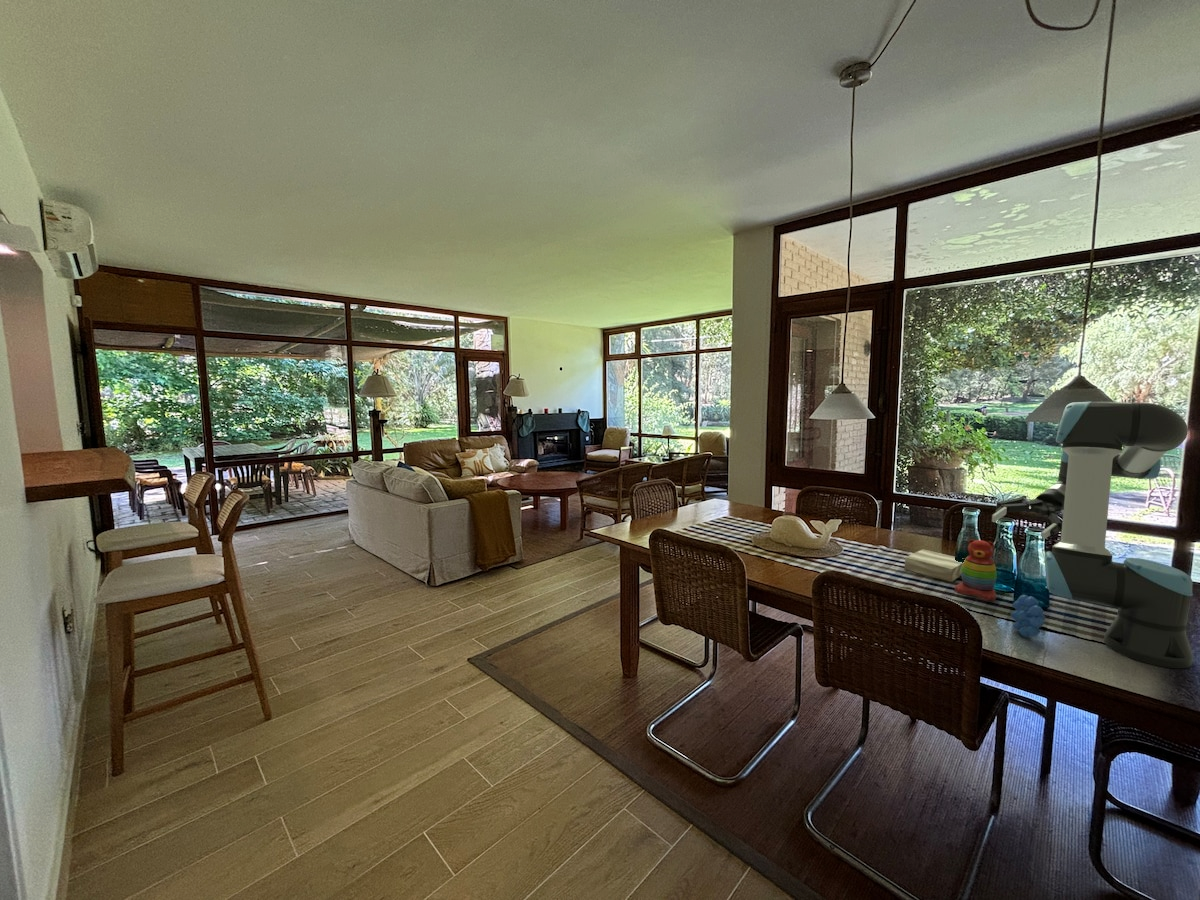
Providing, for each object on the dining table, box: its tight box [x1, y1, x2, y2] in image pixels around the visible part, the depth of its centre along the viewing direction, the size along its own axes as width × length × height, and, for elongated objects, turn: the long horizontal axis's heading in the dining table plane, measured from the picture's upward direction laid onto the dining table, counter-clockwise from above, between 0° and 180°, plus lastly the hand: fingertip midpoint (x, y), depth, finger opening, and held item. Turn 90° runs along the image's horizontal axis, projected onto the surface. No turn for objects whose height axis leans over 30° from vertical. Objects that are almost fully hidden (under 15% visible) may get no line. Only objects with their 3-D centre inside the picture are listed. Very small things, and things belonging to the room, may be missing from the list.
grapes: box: [1010, 594, 1047, 638], centre depth 133 cm, size 12×7×12 cm, turn 165°
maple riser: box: [904, 548, 963, 582], centre depth 181 cm, size 15×15×5 cm
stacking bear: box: [954, 538, 998, 601], centre depth 161 cm, size 11×10×18 cm
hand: (1016, 527), depth 158 cm, fingers open, 13 cm apart
